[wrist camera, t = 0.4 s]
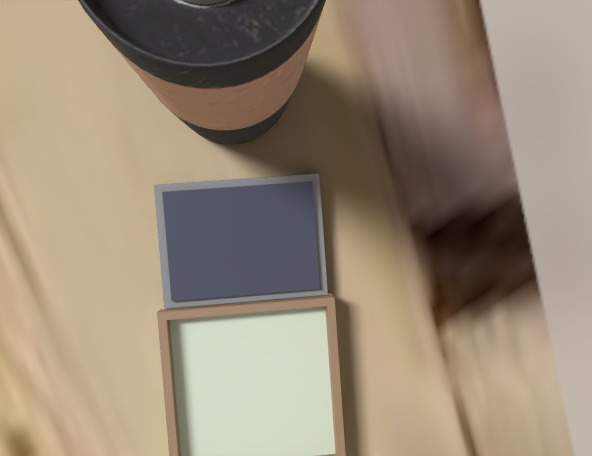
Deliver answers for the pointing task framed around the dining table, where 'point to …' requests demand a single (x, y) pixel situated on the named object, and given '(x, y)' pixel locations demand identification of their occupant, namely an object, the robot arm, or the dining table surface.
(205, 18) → the travel mug
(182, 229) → the ink pad
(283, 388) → the box
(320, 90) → the dining table surface
